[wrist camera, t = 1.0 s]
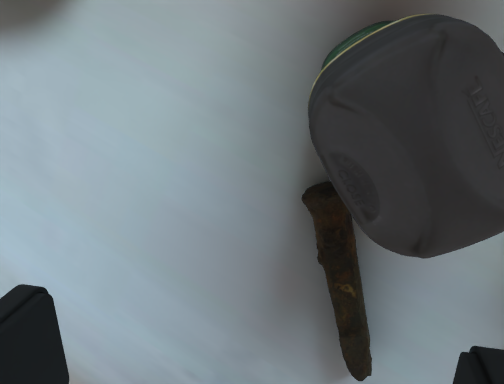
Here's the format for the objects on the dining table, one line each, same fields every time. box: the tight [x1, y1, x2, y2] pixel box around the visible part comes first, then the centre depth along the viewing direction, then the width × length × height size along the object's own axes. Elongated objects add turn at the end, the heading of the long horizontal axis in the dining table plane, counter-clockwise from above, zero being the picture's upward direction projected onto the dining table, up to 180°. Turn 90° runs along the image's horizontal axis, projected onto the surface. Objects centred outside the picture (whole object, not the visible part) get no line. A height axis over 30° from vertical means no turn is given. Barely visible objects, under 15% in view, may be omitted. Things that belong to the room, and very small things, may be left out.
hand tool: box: [302, 182, 372, 381], centre depth 36 cm, size 19×4×5 cm, turn 12°
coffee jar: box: [308, 14, 504, 258], centre depth 23 cm, size 10×8×19 cm
